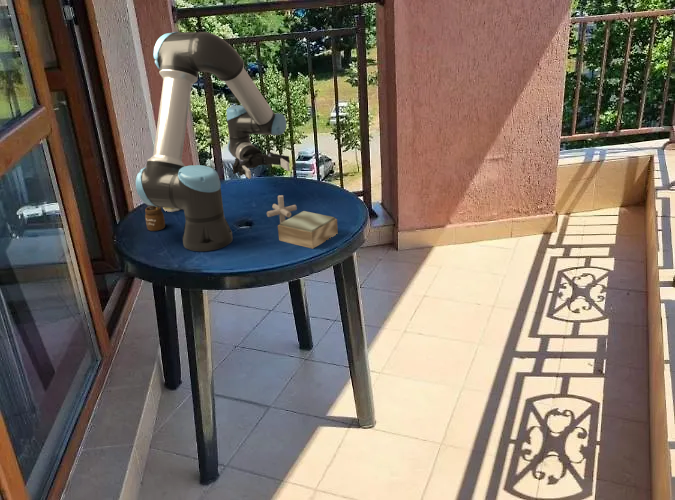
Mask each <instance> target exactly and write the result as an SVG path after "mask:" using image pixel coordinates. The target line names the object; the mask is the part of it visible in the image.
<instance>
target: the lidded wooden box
mask: <svg viewBox="0 0 675 500" xmlns="http://www.w3.org/2000/svg"><path fill="white" fill-rule="evenodd" d="M277 233H278V240H279V241H280V242H284V243H287V244H292V245H296V246H300V247H304V248H309V249H312V250H313V249H314V248H316V247H318V246H320V245H322V244H323V243H325V242H326V240H327V241H329V240H330V239H332V238H333V237H335V236H337V235H338V234H339V232H338V218H335V216H331V215H325V214H321V213H317V212H316V213H315V212H310V211H306V210H303V211H301V212H299V213H297V214H295V215H293V216H291V217H289V218H287V219H285V221H283V222H281V223H280V222H279V224H278V225H277ZM336 234H337V235H336ZM331 237H332V238H331ZM329 238H330V239H329Z"/></svg>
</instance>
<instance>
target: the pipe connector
mask: <svg viewBox="0 0 675 500" xmlns="http://www.w3.org/2000/svg"><path fill="white" fill-rule="evenodd" d="M271 208H272V209H271V210H268V211H266V216H267V217H268V218H271V217H274V216H278V217H279V224H280V223H281V222H283V221H285V220H286V218H287V219H289V218H291V217H292V212H295V211H297V209H298V208H297V205H296V204H292V205H289V206H285V201H284V195H283V194H281V195H280V194H279V195H277V204H276V203H273V204H272V207H271Z"/></svg>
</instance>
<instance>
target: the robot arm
mask: <svg viewBox="0 0 675 500" xmlns="http://www.w3.org/2000/svg"><path fill="white" fill-rule="evenodd" d="M153 59H154V64H155V65H156V67H157V69H158V70H159V75H160V76H161V78H162V80H163V81H162V88H161V89H162V90H161V96H160V103H159V110H158V115H157V117H158V119H157V125H156V133H155V139H154V146H153V152H152V156H151V157H150V158H148V159H147V161H146V166H145V167H143V168H141V169H140V170H139V172H138V173H137V174H136V178H135V189H136V192H137V193H136V194H137V195H138V197H139V199H140V200H141V202H143V203H144V204H145V205H146V206H147V205H149V206H155V207H161V208H163V207H167V208H176V209H180V210H183V212H184V219H185V224H184V229H183V232H184V233H183V235H182V245H183V247H184V248H185V249H186V250H189V251H192V252H193V251H194V252H211V251H215V250H219V249H222V248H224V247H227V246H228V245H230V244H231V243H232V242H233V237H234V236H233V231H232V229H231V227H230V224H229V223H228V221H227V219H226V217H225V212H224V206H223V205H224V204H223V194H222V189H221V186H222V183H221V180H220V176H219V174H218V171H217V170H216V169H215V168H212V167H211V166H207V165H201V164H196V165H187V166H186V165H185V163H183V152H184V146H185V145H184V144H185V138H186V137H185V136H186V131H187V130H186V129H187V123H188V122H187V121H188V115H189V107H190V103H191V102H190V101H191V93H192V87H193V84H195V83H197V82H198V79H199V73H210V74H213V75H215V76H216V78H217V79H218V80H219V81H222V82H224V83H225V84H226V86H227V88H229V90H230V91H231V93H232V94H233V95H234V96H235V98H236V99H237V101H238V102H239V104H241V105H239V104H238V105H232V106H229V107H228V108H227V109H226V122H227V130H228V136H229V141H228V143H227V150H228V151H229V153H230V154H231V156H232V157H233V158H234V162H233V165H232V166H231V167H232V173H233V174H234V175H236V174H237V173H238V176H245V177H246V178H248V179H249V180H250V179H252V173H251V170H250V169H255V168H257V167H259V166H267V165H277V166H280V167H281V168H283V169H284V170H285V171H287V172H290V171H291V167H290V164H291V163H290V162H291V161H290V156H288V155H284V154H279V153H274V152H271V151H270V152H268V154H264V153H262V151H261V150H260V149H259V148H258V147H256V146H255V145H254V144H252V143H251V135H253V134H254V135H269V136H280V135H283V134H284V133H285V131H286V127H287V120H286V119H287V118H286V117H285V115H284V114H282V113H278V112H276V113H275V112H274V111H273V110H272V108H271V107H270V104H269V103H268V102H267V100H266V99H265V97H264V95H262V93H261V92H260V90H259V88H258V87H257V85H256V84H255V82H254V80H253V79H252V77H251V76H250V75H249V74H248V72H247V70H246V69H245V63H244V60H243V59H242V57H241V56H240V54H239V53H238V52H237V50H236V49H234V47H232V45H231V44H229V42H227V41H225V40H224V39H223V38H222V37H220V36H219V35H216V34H213V33H211V32H207V31H199V32H197V31H196V32H195V31H194V32H191V31H190V32H189V31H188V32H182V31H181V32H179V31H173V32H167V33H164V34H163V35H161V36H160V37H159V38H158V39H157V40H156V42H155V45H154V47H153ZM233 174H232V175H233Z"/></svg>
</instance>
